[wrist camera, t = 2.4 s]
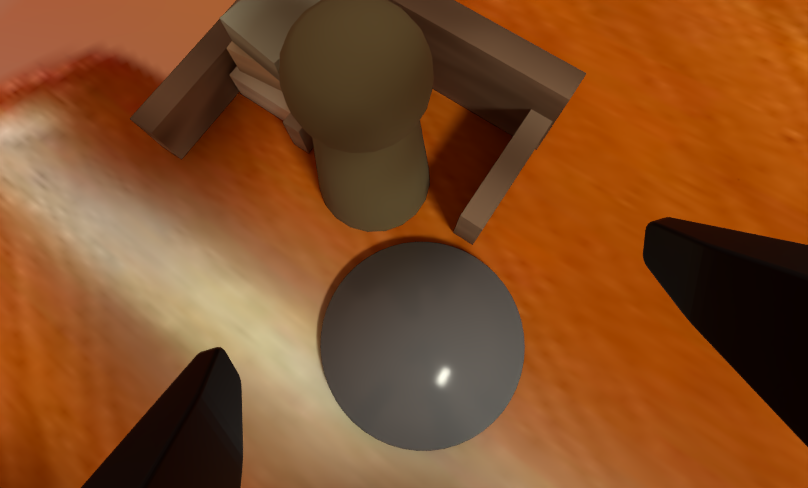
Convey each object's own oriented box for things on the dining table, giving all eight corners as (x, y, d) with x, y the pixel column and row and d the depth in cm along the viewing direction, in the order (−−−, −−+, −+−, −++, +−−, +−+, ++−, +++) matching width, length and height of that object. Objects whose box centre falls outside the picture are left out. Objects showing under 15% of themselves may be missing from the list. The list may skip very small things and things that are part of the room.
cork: (452, 175, 24) (492, 35, 13) (377, 254, 23) (354, 172, 12) (372, 108, 25) (349, -73, 14) (296, 182, 24) (210, 46, 13)
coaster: (453, 494, 20) (454, 496, 20) (281, 369, 22) (279, 369, 21) (558, 312, 22) (561, 312, 22) (395, 208, 24) (395, 206, 23)
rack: (424, 322, 22) (430, 314, 17) (162, 146, 24) (99, 93, 19) (550, 127, 25) (588, 70, 20) (302, -16, 27) (279, -100, 22)
